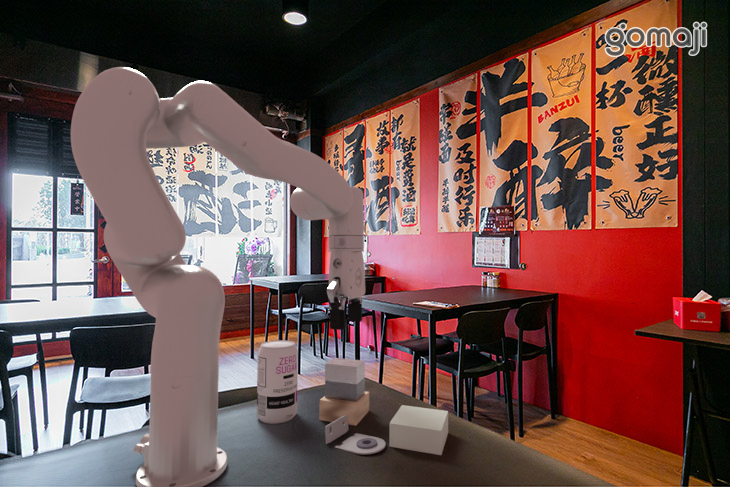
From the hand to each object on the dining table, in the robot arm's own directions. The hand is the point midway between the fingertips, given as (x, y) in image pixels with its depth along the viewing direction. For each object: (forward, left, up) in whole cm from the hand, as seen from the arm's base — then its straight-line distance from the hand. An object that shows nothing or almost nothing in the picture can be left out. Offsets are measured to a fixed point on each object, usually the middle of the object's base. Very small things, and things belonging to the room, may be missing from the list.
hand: (346, 325), depth 82 cm
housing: (0, 0, -15) cm, 15 cm away
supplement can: (-13, -6, -19) cm, 24 cm away
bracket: (+6, -11, -19) cm, 23 cm away
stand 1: (0, 0, -19) cm, 19 cm away
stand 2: (+17, -6, -19) cm, 26 cm away
